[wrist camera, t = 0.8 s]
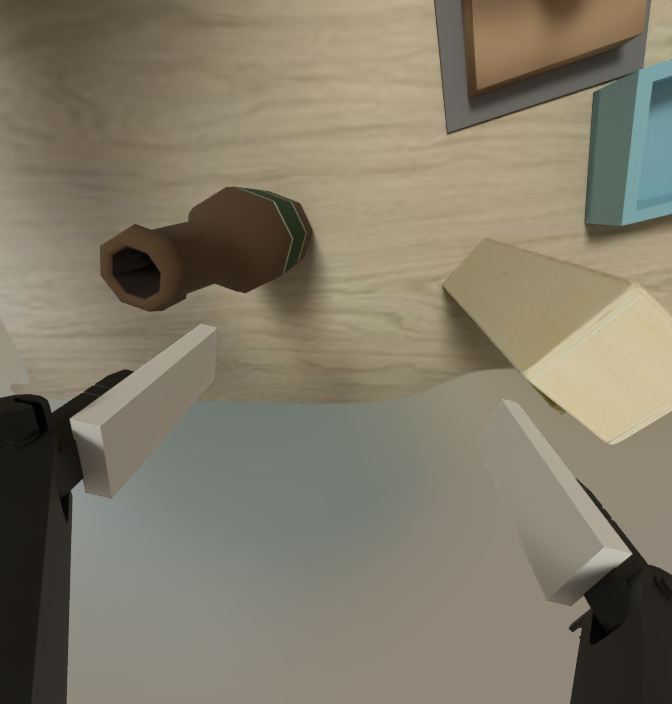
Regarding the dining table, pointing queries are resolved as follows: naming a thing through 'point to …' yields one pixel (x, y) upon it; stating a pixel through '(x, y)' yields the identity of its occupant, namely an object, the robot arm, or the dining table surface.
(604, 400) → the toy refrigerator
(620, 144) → the dish
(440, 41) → the mat
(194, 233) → the beer bottle
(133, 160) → the dining table surface
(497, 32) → the lid cover
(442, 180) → the dining table surface
